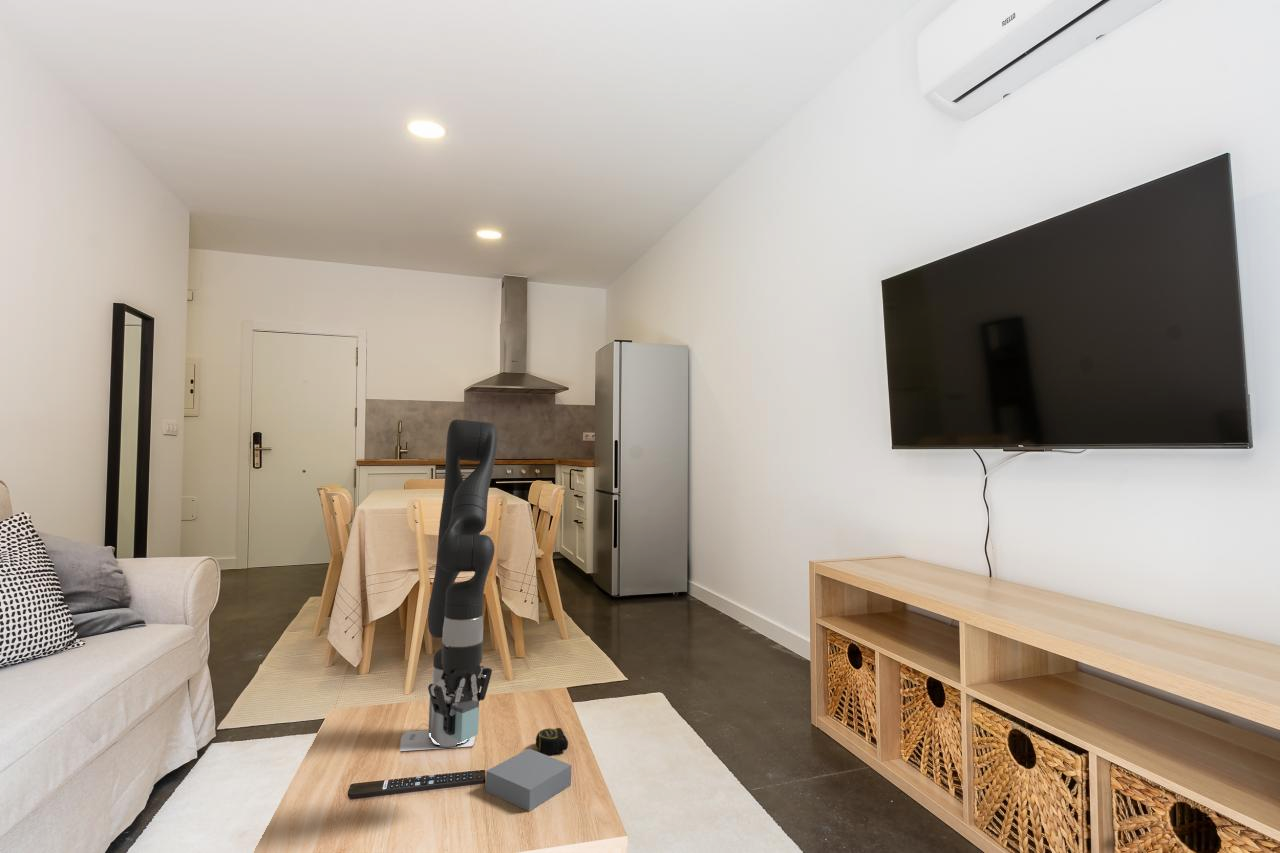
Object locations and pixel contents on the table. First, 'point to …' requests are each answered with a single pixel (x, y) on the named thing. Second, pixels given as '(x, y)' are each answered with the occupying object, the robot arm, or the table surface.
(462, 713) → the block
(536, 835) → the table surface
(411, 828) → the table surface
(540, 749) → the tape measure
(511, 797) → the stand
